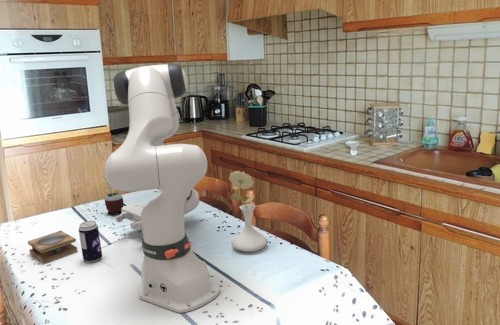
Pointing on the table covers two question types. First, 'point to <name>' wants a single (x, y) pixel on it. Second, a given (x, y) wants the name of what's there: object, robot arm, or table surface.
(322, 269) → the table surface
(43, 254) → the levelling stand
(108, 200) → the mate gourd
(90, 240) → the beverage can
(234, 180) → the flower in vase
